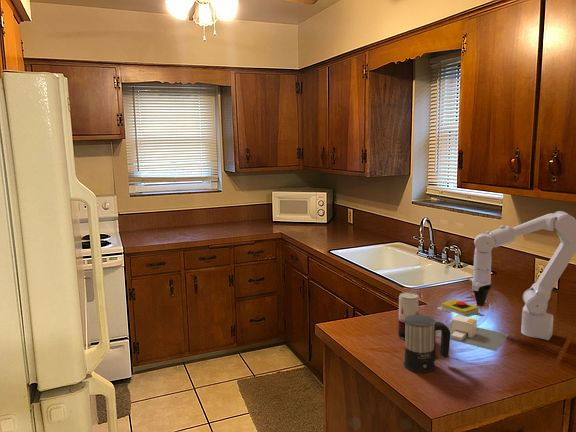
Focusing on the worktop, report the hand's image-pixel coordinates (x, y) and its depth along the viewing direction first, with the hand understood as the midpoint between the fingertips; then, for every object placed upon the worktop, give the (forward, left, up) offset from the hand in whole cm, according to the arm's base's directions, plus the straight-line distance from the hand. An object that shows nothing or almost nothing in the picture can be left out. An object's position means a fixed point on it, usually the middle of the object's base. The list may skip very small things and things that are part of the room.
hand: (480, 305), depth 166 cm
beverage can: (+18, +20, -10) cm, 29 cm away
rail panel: (0, +8, -9) cm, 12 cm away
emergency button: (+13, -15, -10) cm, 22 cm away
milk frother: (+8, +35, -10) cm, 37 cm away
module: (+3, +8, -8) cm, 12 cm away
